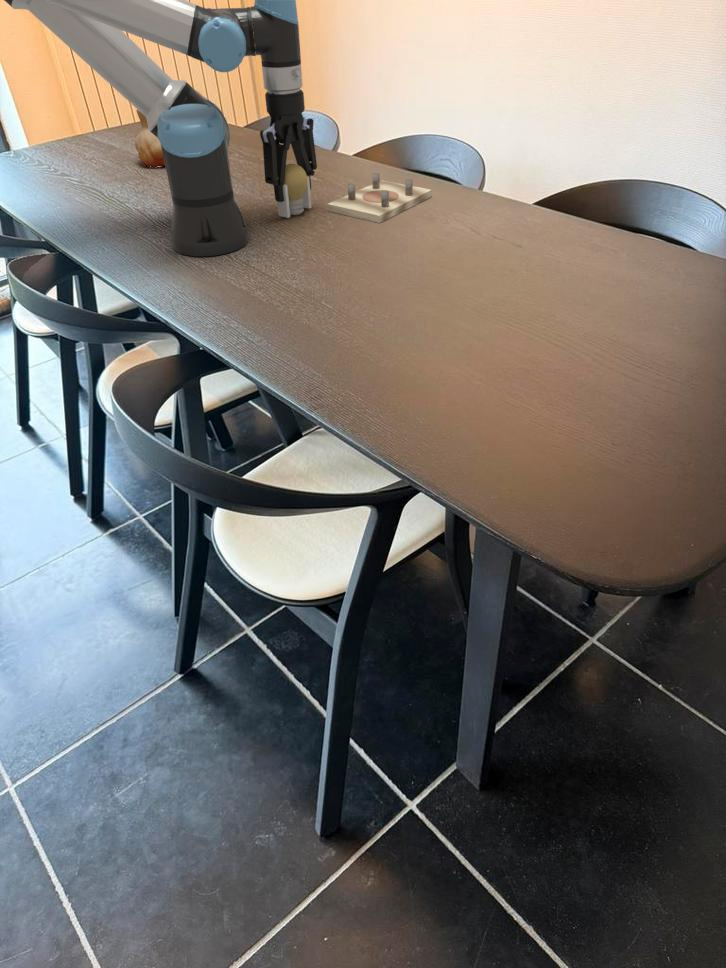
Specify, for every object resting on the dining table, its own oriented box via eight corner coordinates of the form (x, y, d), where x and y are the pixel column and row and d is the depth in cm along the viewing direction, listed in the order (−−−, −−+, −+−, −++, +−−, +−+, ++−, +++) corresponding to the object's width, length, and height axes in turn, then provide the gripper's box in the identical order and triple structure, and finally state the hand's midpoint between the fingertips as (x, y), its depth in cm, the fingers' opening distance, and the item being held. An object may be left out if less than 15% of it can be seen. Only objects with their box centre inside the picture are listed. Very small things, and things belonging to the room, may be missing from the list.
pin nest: (379, 223, 139) (379, 200, 137) (327, 211, 146) (326, 189, 143) (431, 196, 151) (432, 175, 148) (381, 186, 158) (381, 166, 155)
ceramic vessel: (231, 148, 189) (222, 87, 180) (165, 172, 173) (151, 107, 163) (195, 142, 195) (184, 83, 186) (127, 166, 179) (112, 102, 169)
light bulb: (312, 208, 148) (308, 159, 141) (307, 218, 143) (303, 168, 136) (283, 208, 148) (278, 160, 142) (278, 218, 143) (272, 169, 137)
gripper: (263, 101, 123) (277, 228, 138) (330, 83, 134) (336, 202, 149) (234, 97, 126) (251, 221, 141) (301, 80, 138) (311, 196, 153)
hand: (295, 211), depth 145 cm, fingers closed on light bulb, 6 cm apart
